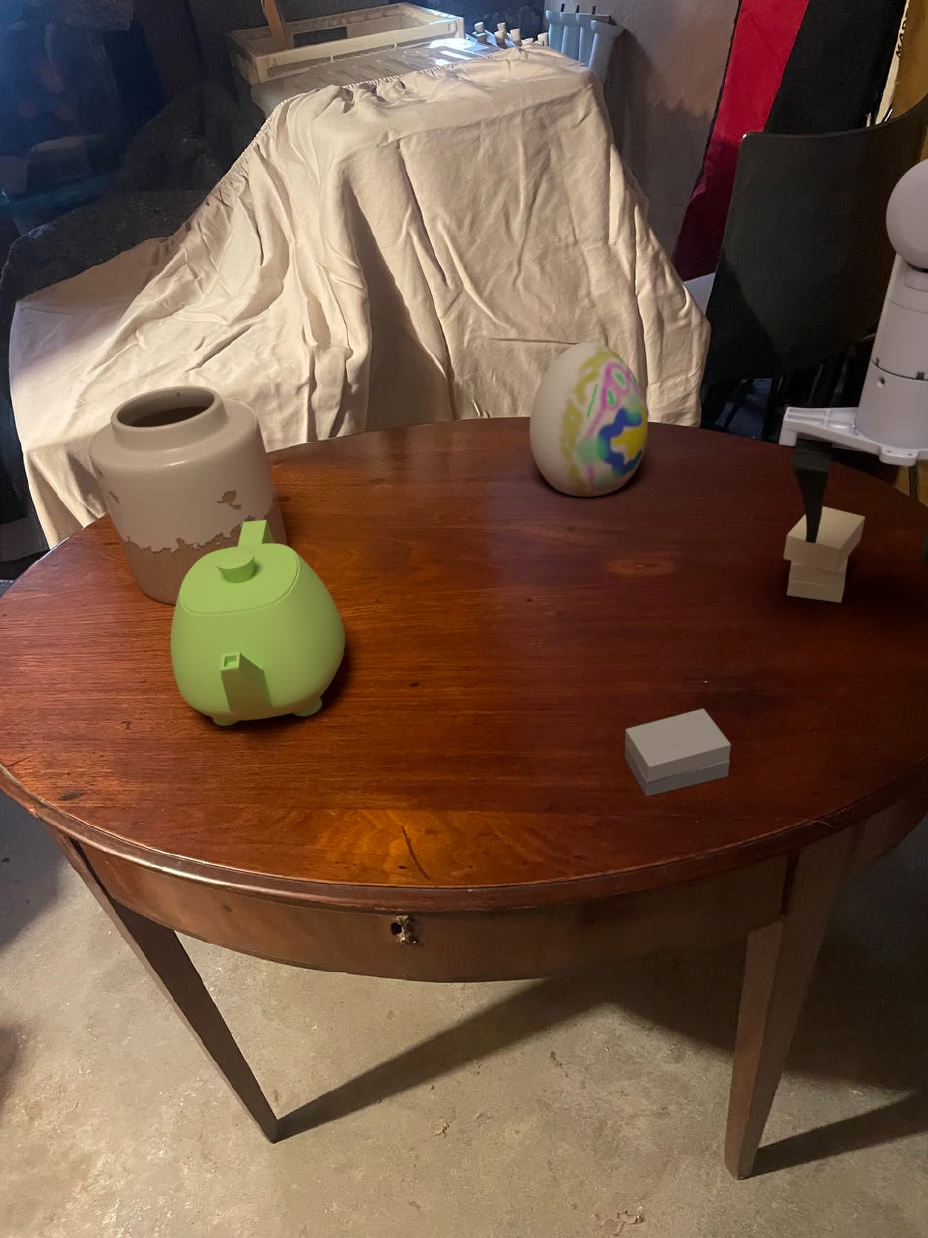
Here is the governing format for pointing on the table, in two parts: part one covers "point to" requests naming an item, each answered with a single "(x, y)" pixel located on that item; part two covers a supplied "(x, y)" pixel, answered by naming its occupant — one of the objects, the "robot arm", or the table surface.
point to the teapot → (254, 632)
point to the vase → (182, 481)
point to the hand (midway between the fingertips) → (868, 545)
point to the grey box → (677, 752)
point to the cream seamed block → (816, 582)
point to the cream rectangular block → (825, 540)
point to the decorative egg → (588, 422)
